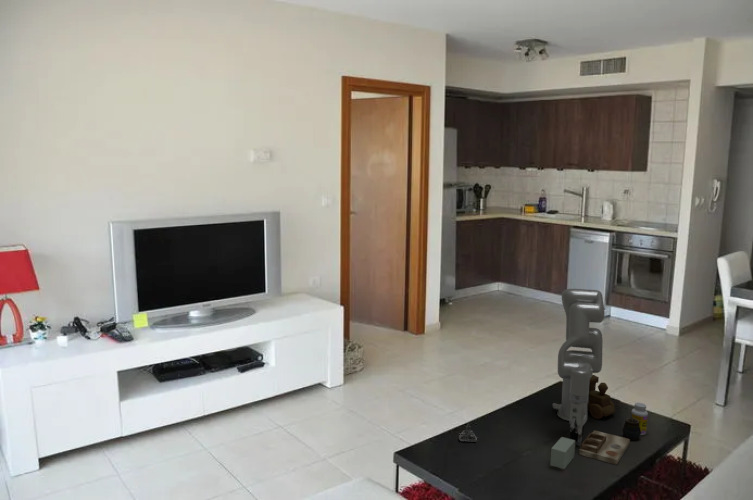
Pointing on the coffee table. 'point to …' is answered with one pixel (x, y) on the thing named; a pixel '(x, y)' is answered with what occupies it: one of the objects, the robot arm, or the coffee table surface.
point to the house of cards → (469, 438)
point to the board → (604, 447)
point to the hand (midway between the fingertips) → (576, 437)
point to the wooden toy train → (599, 399)
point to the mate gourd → (631, 428)
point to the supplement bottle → (640, 416)
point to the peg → (579, 436)
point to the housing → (562, 452)
